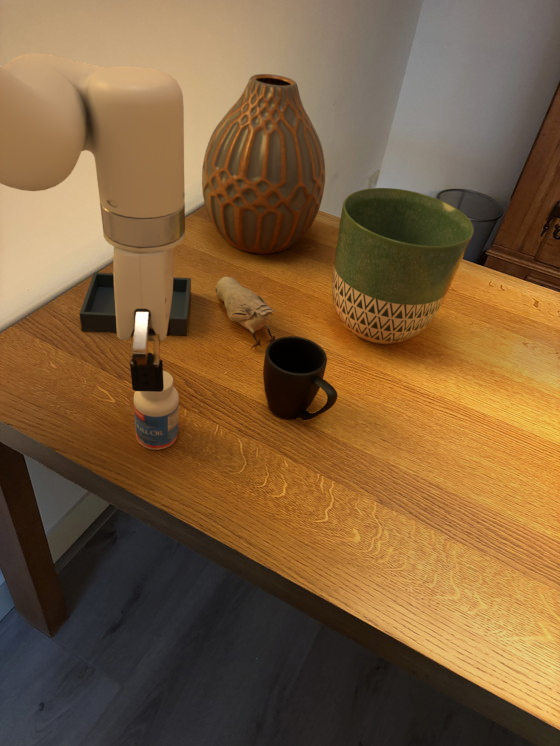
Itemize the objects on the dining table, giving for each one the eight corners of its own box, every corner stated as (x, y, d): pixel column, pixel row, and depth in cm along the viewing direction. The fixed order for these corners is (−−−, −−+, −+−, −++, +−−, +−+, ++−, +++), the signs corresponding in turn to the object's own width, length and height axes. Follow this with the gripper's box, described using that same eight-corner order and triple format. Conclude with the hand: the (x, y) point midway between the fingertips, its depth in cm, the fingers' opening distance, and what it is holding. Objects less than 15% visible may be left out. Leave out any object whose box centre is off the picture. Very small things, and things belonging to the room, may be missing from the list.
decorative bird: (232, 296, 97) (235, 258, 92) (281, 347, 88) (286, 308, 83) (205, 302, 95) (207, 264, 90) (252, 355, 85) (256, 316, 80)
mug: (297, 454, 71) (308, 401, 65) (247, 398, 78) (253, 345, 72) (344, 431, 75) (359, 380, 69) (293, 380, 82) (302, 329, 76)
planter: (386, 292, 105) (417, 183, 91) (453, 352, 92) (502, 237, 78) (298, 310, 96) (318, 193, 83) (359, 378, 84) (395, 255, 70)
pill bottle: (127, 442, 69) (122, 385, 63) (149, 415, 73) (146, 359, 67) (165, 457, 68) (164, 401, 62) (186, 428, 72) (186, 373, 66)
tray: (81, 331, 85) (79, 313, 83) (95, 288, 94) (93, 272, 92) (186, 336, 87) (187, 319, 85) (190, 294, 96) (190, 278, 94)
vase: (325, 229, 122) (353, 80, 102) (295, 279, 104) (322, 109, 84) (226, 204, 126) (235, 55, 106) (180, 248, 108) (181, 78, 88)
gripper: (116, 180, 57) (129, 315, 68) (84, 264, 44) (106, 414, 55) (189, 185, 58) (190, 317, 69) (178, 269, 45) (181, 415, 56)
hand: (152, 360), depth 62 cm, fingers open, 9 cm apart
